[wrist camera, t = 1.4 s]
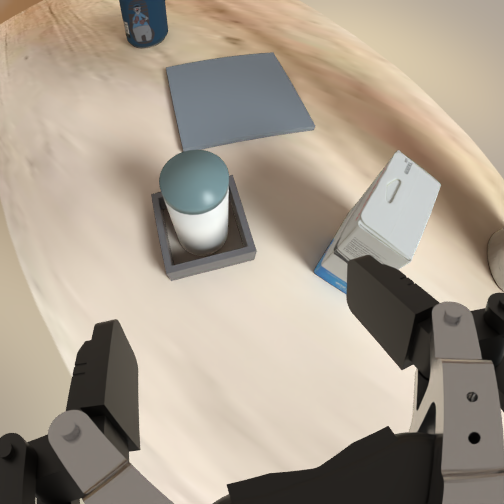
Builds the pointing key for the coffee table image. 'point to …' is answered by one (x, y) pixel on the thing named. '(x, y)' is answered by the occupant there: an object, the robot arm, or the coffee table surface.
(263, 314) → the coffee table surface
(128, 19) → the soda can
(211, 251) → the ball
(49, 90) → the coffee table surface
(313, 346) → the coffee table surface
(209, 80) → the slate board
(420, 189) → the ink box
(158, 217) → the sleeve
